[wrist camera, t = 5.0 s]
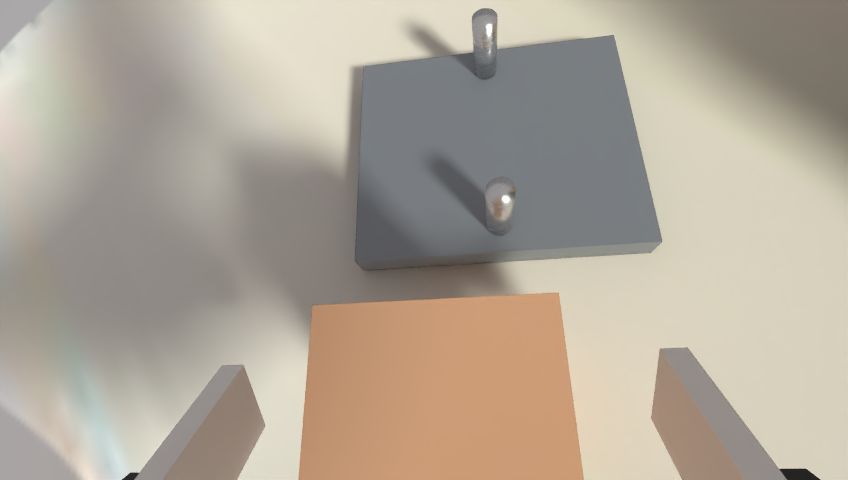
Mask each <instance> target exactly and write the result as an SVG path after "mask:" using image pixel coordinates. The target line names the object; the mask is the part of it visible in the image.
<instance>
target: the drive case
mask: <svg viewBox="0 0 848 480" xmlns="http://www.w3.org/2000/svg"><path fill="white" fill-rule="evenodd" d="M299 480H584V477H583V470H582V463H581V455H580V448H579V440H578V433H577V425H576V418H575V411H574V403H573V396H572V388H571V381H570V373H569V366H568V359H567V351H566V344H565V336H564V329H563V321H562V314H561V307H560V299H559V293H542V294H522V295H503V296H483V297H463V298H444V299H424V300H404V301H385V302H365V303H345V304H326V305H312V315H311V328H310V341H309V354H308V366H307V379H306V392H305V404H304V417H303V430H302V442H301V455H300V468H299Z"/></svg>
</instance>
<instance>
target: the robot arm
mask: <svg viewBox="0 0 848 480" xmlns="http://www.w3.org/2000/svg"><path fill="white" fill-rule="evenodd" d="M651 419H652V421H653V423H654V425H655V427H656V429H657V431H658V433H659V435H660V437H661V439H662V441H663V443H664V445H665V447H666V449H667V450H668V452H669V454H670V456H671V458H672V460H673V462H674V464H675V466H676V468H677V470H678V472H679V474H680V476H681V478H682V480H820V479H819V478H817V477H816V476H815V475H814V474H812V473H811V472H810V471H808V470H807V469H779V468H778V467H777V466H776V464H775V463H774V462H773V460H772V459H771V458H770V456H769V455H768V454H767V452H766V451H765V450H764V448H763V447H762V446H761V444H760V443H759V442H758V440H757V439H756V438H755V436H754V435H753V434H752V432H751V431H750V430H749V428H748V427H747V426H746V424H745V423H744V422H743V420H742V419H741V418H740V416H739V415H738V414H737V412H736V411H735V410H734V408H733V407H732V406H731V405H730V403H729V402H728V401H727V399H726V398H725V397H724V395H723V394H722V393H721V391H720V390H719V389H718V387H717V386H716V385H715V383H714V382H713V381H712V379H711V378H710V377H709V375H708V374H707V373H706V371H705V370H704V369H703V367H702V366H701V365H700V363H699V362H698V361H697V359H696V358H695V357H694V355H693V354H692V353H691V351H690V350H689V349H688V348H664V349H660V352H659V360H658V368H657V376H656V384H655V392H654V400H653V408H652V416H651ZM264 427H265V423H264V420H263V417H262V415H261V412H260V409H259V406H258V404H257V401H256V398H255V395H254V393H253V390H252V387H251V384H250V382H249V379H248V376H247V373H246V371H245V368H244V365H225V366H221V368H220V369H219V370H218V372H217V373H216V374H215V376H214V377H213V378H212V379H211V381H210V382H209V383H208V385H207V386H206V387H205V389H204V390H203V391H202V392H201V394H200V395H199V396H198V398H197V399H196V400H195V401H194V403H193V404H192V405H191V407H190V408H189V409H188V411H187V412H186V413H185V414H184V416H183V417H182V418H181V420H180V421H179V422H178V424H177V425H176V426H175V427H174V429H173V430H172V431H171V433H170V434H169V435H168V437H167V438H166V439H165V440H164V442H163V443H162V444H161V446H160V447H159V448H158V450H157V451H156V452H155V453H154V455H153V456H152V457H151V459H150V460H149V461H148V463H147V464H146V465H145V466H144V468H143V469H142V470H141V472H140V473H129V474H128V475H127V476H126V477H125V478H124V479H122V480H237V478H238V476H239V474H240V473H241V471H242V469H243V467H244V465H245V463H246V461H247V459H248V458H249V456H250V454H251V452H252V450H253V448H254V446H255V444H256V442H257V441H258V439H259V437H260V435H261V433H262V431H263V429H264Z"/></svg>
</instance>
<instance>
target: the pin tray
mask: <svg viewBox="0 0 848 480" xmlns="http://www.w3.org/2000/svg"><path fill="white" fill-rule="evenodd" d="M472 31H473V50H474V53H467V54H459V55H452V56H444V57H436V58H428V59H420V60H412V61H404V62H396V63H388V64H380V65H372V66H364V67H363V88H362V111H361V134H360V157H359V180H358V203H357V226H356V249H355V262H356V263H357V264H358V265H359V266H360V267H361V268H362V269H363V270H376V269H393V268H409V267H425V266H442V265H458V264H474V263H491V262H507V261H523V260H540V259H556V258H572V257H589V256H605V255H621V254H638V253H651V252H652V251H653V250H654V249H655V248H656V247H657V246H658V245H659V244H660V243H662V238H661V233H660V229H659V225H658V221H657V216H656V212H655V208H654V204H653V199H652V195H651V191H650V187H649V182H648V178H647V174H646V170H645V165H644V161H643V157H642V153H641V148H640V144H639V140H638V136H637V131H636V127H635V123H634V119H633V114H632V110H631V106H630V102H629V97H628V93H627V89H626V85H625V80H624V76H623V72H622V68H621V64H620V59H619V55H618V51H617V47H616V42H615V38H614V35H610V36H602V37H594V38H586V39H578V40H570V41H562V42H554V43H546V44H539V45H531V46H523V47H515V48H507V49H499V50H497V13H496V12H495V11H494V10H492V9H488V8H484V9H480V10H478V11H476V12H475V13H474V14H473V16H472Z"/></svg>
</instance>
